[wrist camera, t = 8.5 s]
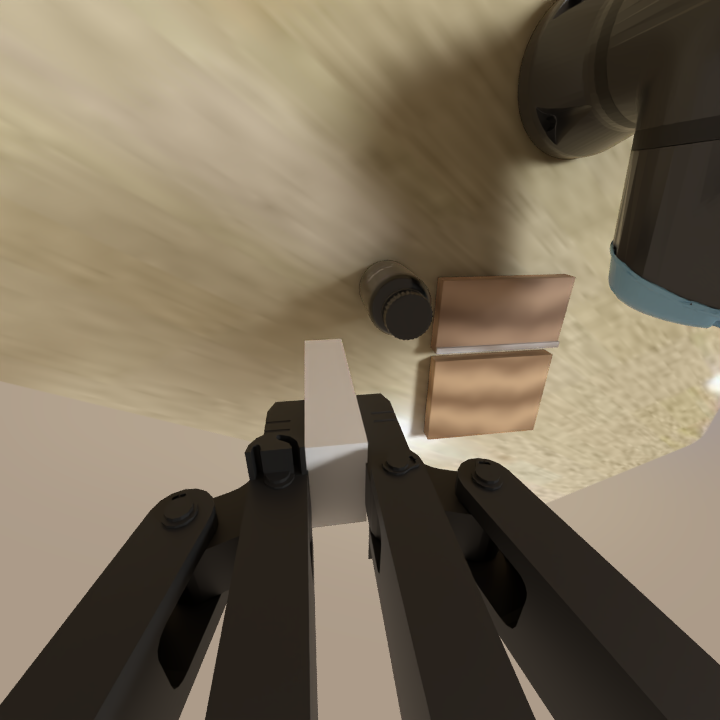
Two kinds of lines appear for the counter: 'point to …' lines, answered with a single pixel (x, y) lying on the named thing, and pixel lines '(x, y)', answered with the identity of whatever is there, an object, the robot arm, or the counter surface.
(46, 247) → the counter surface
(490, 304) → the walnut board
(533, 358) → the oak plank
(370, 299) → the supplement bottle
